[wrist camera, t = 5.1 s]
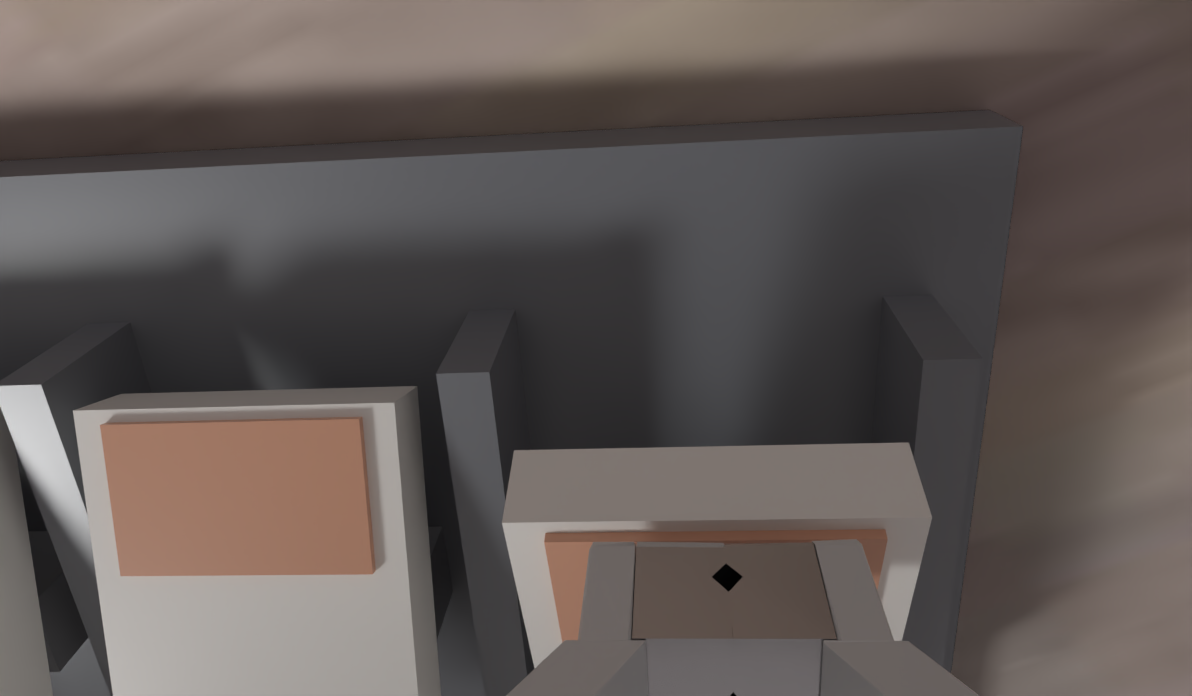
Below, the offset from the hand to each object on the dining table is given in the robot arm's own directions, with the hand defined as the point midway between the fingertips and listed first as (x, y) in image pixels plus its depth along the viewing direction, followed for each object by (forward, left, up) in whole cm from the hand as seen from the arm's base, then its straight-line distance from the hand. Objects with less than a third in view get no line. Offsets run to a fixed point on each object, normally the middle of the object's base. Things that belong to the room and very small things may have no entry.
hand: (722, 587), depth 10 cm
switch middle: (-4, +7, -2) cm, 9 cm away
